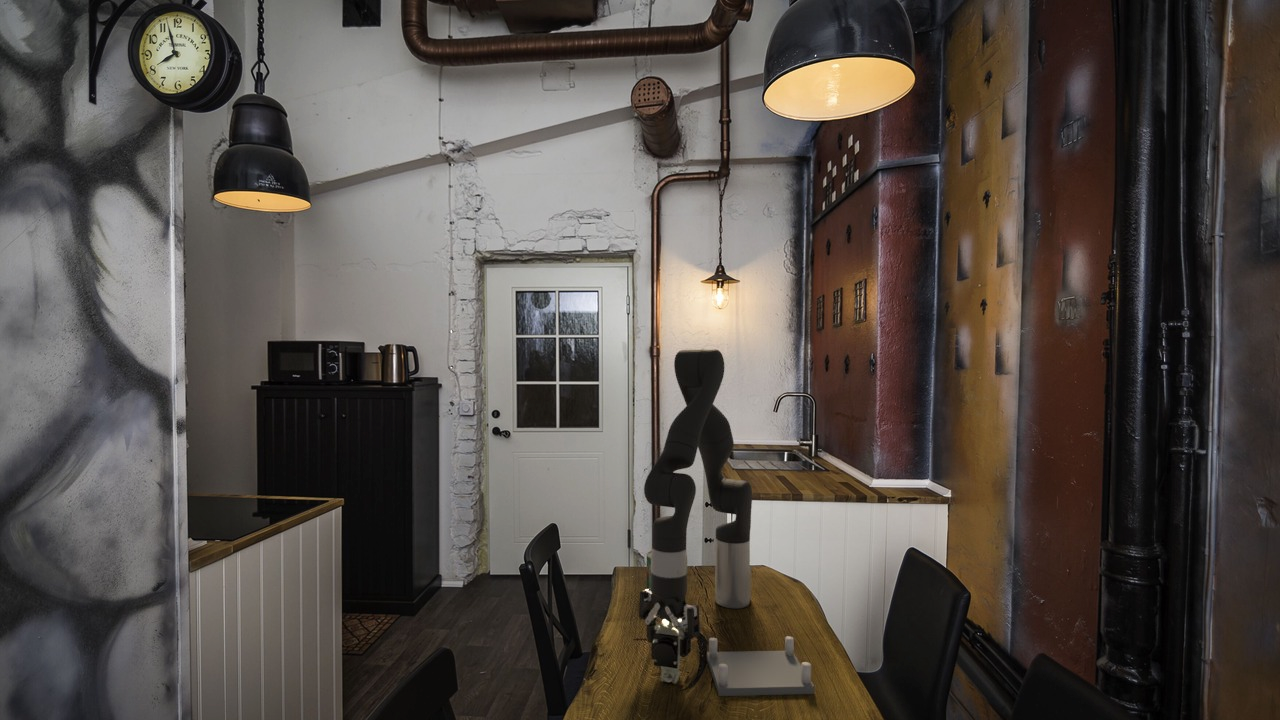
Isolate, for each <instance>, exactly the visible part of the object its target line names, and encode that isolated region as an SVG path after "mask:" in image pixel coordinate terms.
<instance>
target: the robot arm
mask: <svg viewBox="0 0 1280 720" xmlns="http://www.w3.org/2000/svg"><path fill="white" fill-rule="evenodd" d="M673 367H674V373H675V378H676V379H675V380H676V382H677V384H678V387H679V389H680V392H681V394H682V397H683V399H684V402H685V405H686V406H685V407H684V408H683V409H682V410H681V411H680V412H679V413H678V414H677V416H676V417H675V418H674V419H673V421H672V423H671V424H670V427H669V429H668V432H667V436H666V439H665V444H664V446H663V450H662V452H661V454H659V457H658V459H657V460H656V462H655V464H654V465H653V467H652V469H651V470H650V471H649V473H648V474H647V477H646V479H645V482H644V485H643V486H644V487H643V491H644V492H643V493H644V497H645V499H646V501H647V502H648V503H649V504H651V505H652V506H657V507H658V506H659V507H667V508H672V509H674V512H673V515H668V516H660V517H657V518H656V519H655V520H654V521H653V523H652V544H651V545H652V548H651V549H652V550H651V551H652V555H651V589H650V588H648V589H646V588H645V589H643V590H641V591H640V592H639V604H638V605H639V607H638V608H639V609H638V618H639V619H640V620H644V622H645V625H646V638H647V642H648V643H649V644H652V642H653V640H654V638H655V633H656V631H657V630H655V626H656V622H657V620H658V619H661V620H663V619H666V620H667V621H669V622H672V623H673V625H674V628H675V629H677V630H678V632H679V634H680V636H681V638H680V656H681V657H682V658H685V657H687V656H689V654H690V653H691V651H692V639H695V638H696V637H697V636H700V634H701V629H700V606H699V605H698V604H694V605H690V604H688V603H687V601H686V595H687V593H688V554H687V553H688V552H687V535H688V534H687V528H688V523H689V518H690V513H691V511H692V507H693V504H694V501H695V497H696V495H697V493H696V491H697V487H696V483H695V481H694V479H693V477H692V476H691V475H690V474H687V473H683V472H681V473H680V472H676V471H678V470H683V469H688V468H689V469H690V468H691V467H692V466H693V464H694V463H695V460H696V457H697V453H698V452H697V451H699V453H700V457H701V461H702V465H703V469H704V473H705V478H706V486H707V493H708V496H709V497H708V498H709V501H710V504H711V507H712V509H713V510H714V511H716V512H717V513H724V514H731V515H735V520H734V521H730V522H727V523H722V524H720V525H718V526H717V527H716V528H715V560H714V561H715V562H714V563H715V568H714V569H715V574H714V575H715V578H714V580H715V581H714V582H715V584H714V585H715V587H714V588H715V591H714V592H715V593H714V594H715V595H714V597H715V598H714V599H715V600H714V601H715V603H716V604H717V605H719V606H721V607H724V608H728V609H744V608H746V607H748V606H749V605H750V601H751V596H752V595H751V591H752V589H751V585H752V581H751V580H752V579H751V578H752V566H751V564H750V561H751V560H750V559H751V557H750V556H751V551H750V550H751V548H750V547H751V543H750V542H751V540H750V539H751V527H752V526H751V525H752V507H753V506H752V505H753V490H752V486H751V483H750V481H747V480H743V479H733V478H726V477H724V476H723V474H722V470H723V468H724V466H725V464H726V463H727V462H728V459H729V458H730V456H731V455H732V454H733V453H732V452H733V449H734V445H735V444H734V442H735V441H734V437H733V433H732V429H731V425H730V422H729V420H728V418H727V417H726V415H724V414H723V412H722V411H721V410H720V409H719V408H718V407H717V406H716V405H715V404H714V403H715V399H716V397H717V395H718V392H719V390H720V388H721V385H722V382H723V379H724V375H725V360H724V356H723V354H722V352H721V351H720V350H719V349H717V348H687V349H686V348H685V349H681V350H679V351H678V352H677V353H676V355H675V357H674V362H673ZM652 604H653V607H652ZM680 617H681V619H682V621H681V622H679V621H678V619H679V618H680ZM683 627H684V629H685V631H684V629H683Z"/></svg>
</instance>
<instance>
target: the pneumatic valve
mask: <svg viewBox="0 0 1280 720" xmlns="http://www.w3.org/2000/svg"><path fill="white" fill-rule="evenodd" d="M661 621H662V622H661V623H659V624H658V623H656V626H655V630H657V631H656V633H655V638H654V640H653V642H652V643H651V653H650V654H651V657H650V658H651V660H653V661H654V662H653V666H657V667H658V666H659V667H660V670H661V677H660V681H661V682H662V683H664V682H665V683H672V684H674V685H676V684H677V683H678V681H679V678H680V676H681V671H680V665H681V660H682V658H683V657H681V656H680V638H681V636H680V634H679V632H678V630H677V629H675V628H674V625H673V623H672V622H669V621H667V620H666V619H661ZM678 621H679V622H681V621H682V619H681V617H680V618H679V619H678ZM683 629H684V627H683ZM684 631H685V629H684Z"/></svg>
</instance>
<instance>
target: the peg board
mask: <svg viewBox="0 0 1280 720" xmlns="http://www.w3.org/2000/svg"><path fill="white" fill-rule="evenodd" d="M784 641H785V642H784V647H785V648H784V650H755V651H754V650H749V651H747V650H746V651H718V639H717V637H710V638H709V639H708V651H706V661H707V664H708V666H709V669H710V672H711V676H712V679H713V681H714V685H715V688H716V691H717V694H718V695H717V696H718V697H735V696H736V697H739V696H740V697H741V696H743V697H744V696H776V695H778V696H779V695H780V696H782V695H815V685H814V683H813V682H812V664H811V662H807V661H803V662H800V661H799V659H798V658H797V656H796V655H795V653H794V651H795V650H794V649H795V648H794V646H795V645H794V644H795V642H794V641H795V640H794V637H793V636H789V635H787V636H785V637H784Z"/></svg>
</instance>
